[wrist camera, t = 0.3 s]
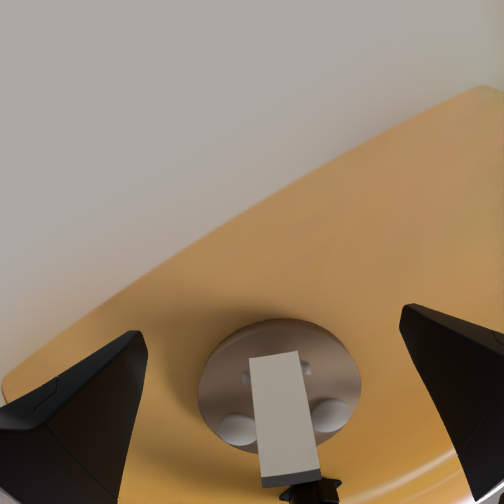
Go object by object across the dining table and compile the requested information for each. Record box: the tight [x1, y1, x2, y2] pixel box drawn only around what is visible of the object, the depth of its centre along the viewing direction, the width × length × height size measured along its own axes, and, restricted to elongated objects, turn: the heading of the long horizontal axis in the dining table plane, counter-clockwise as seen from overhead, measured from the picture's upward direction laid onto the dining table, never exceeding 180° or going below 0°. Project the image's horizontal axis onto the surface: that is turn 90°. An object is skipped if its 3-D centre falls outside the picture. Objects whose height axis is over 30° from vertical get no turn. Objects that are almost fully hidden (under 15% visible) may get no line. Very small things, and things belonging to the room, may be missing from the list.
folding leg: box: [249, 351, 322, 488], centre depth 17 cm, size 4×4×10 cm
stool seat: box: [198, 319, 361, 454], centre depth 23 cm, size 15×15×4 cm
